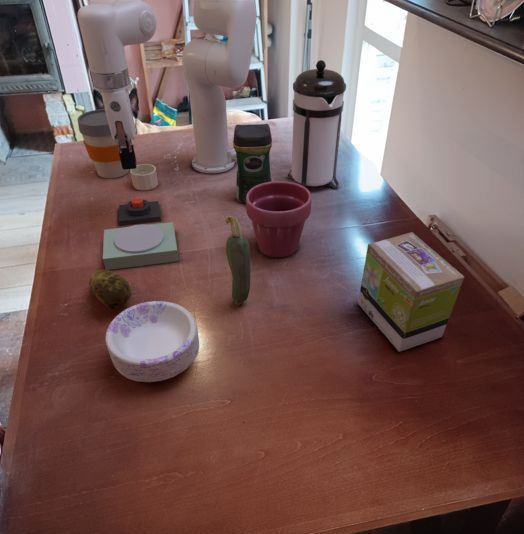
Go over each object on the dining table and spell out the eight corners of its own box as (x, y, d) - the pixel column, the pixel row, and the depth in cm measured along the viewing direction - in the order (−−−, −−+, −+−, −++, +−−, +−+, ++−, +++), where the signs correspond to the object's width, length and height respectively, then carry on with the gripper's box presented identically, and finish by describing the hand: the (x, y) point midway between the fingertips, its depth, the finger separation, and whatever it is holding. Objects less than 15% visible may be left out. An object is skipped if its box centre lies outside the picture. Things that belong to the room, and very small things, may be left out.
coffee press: (350, 176, 135) (365, 56, 113) (324, 200, 125) (335, 73, 104) (296, 162, 141) (302, 46, 120) (268, 184, 132) (268, 61, 110)
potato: (134, 279, 102) (126, 247, 97) (135, 318, 94) (127, 285, 88) (94, 284, 101) (84, 252, 95) (92, 324, 92) (80, 292, 87)
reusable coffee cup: (115, 158, 144) (102, 105, 134) (144, 168, 139) (134, 114, 129) (82, 173, 137) (66, 119, 127) (111, 185, 132) (97, 129, 121)
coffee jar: (271, 189, 130) (271, 118, 116) (273, 204, 124) (273, 131, 111) (235, 190, 130) (232, 119, 116) (235, 205, 124) (232, 132, 111)
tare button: (143, 202, 120) (142, 197, 119) (144, 208, 118) (142, 202, 117) (132, 204, 120) (131, 198, 119) (132, 209, 118) (131, 203, 117)
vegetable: (254, 301, 97) (252, 212, 83) (247, 314, 94) (243, 225, 80) (234, 296, 98) (229, 208, 84) (226, 310, 95) (219, 220, 81)
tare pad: (159, 205, 124) (157, 195, 122) (161, 221, 119) (159, 210, 117) (120, 209, 123) (117, 199, 121) (120, 226, 117) (117, 215, 115)
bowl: (158, 178, 135) (155, 162, 132) (159, 190, 130) (156, 174, 127) (133, 181, 134) (129, 165, 131) (133, 192, 129) (130, 176, 126)
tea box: (355, 304, 96) (366, 241, 85) (397, 292, 99) (413, 229, 88) (398, 354, 86) (417, 289, 76) (443, 338, 89) (467, 274, 78)
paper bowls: (163, 407, 78) (155, 375, 72) (97, 371, 84) (84, 339, 78) (218, 351, 87) (214, 318, 81) (154, 321, 93) (147, 289, 87)
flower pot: (254, 227, 117) (253, 177, 107) (312, 233, 114) (315, 182, 105) (241, 260, 107) (238, 208, 98) (303, 267, 105) (306, 215, 96)
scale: (174, 232, 115) (172, 219, 112) (178, 261, 107) (176, 247, 104) (107, 240, 113) (103, 227, 110) (105, 270, 105) (101, 256, 102)
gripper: (130, 90, 93) (147, 179, 106) (129, 66, 104) (144, 149, 118) (90, 92, 92) (112, 183, 105) (94, 68, 103) (113, 152, 117)
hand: (129, 164), depth 111 cm, fingers closed
